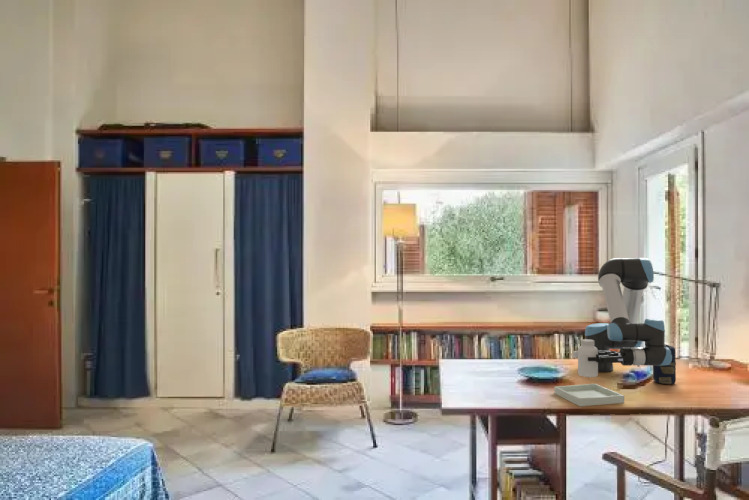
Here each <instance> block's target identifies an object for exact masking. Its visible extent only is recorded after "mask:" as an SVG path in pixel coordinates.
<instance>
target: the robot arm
mask: <svg viewBox="0 0 749 500" xmlns="http://www.w3.org/2000/svg"><path fill="white" fill-rule="evenodd" d="M654 279H655V277H654V268H653V264H652V261H651V259H649V258H646V257H638V258H637V257H635V258H632V257H631V258H630V257H628V258H627V257H625V258H624V257H623V258H622V257H617V258H616V257H615V258H611V259H608V260H607V261H606V262H604V264H603V265H602V266H601V267H600V269H599V271H598V274H597V281H598V284H599V286H600V287H601V288H602V292H603V296H604V299H605V304H606V309H607V312H608V317H609V320H610V321H609V322H610V323H607V322H604V323H603V322H598V323H591V324H588V325H586V326H585V328H584V329H585V330H584V336H585V338H584V339H591V340H594V347H596V348H597V349H598V354H596V356H595V355H579V362H598V373H605V372H607V373H608V372H612V371H614V363H615V364H618V363H619V364H621V365H622V366H623V367H624V366H628V367H629V366H636V367H640V366H652V367H653V366H661V365H669V364H670V363H671V361H672V355H671V351H670V349H669V348H667V347H665V342H666V341H665V337H666V336H665V335H666V334H665V333H666V331H665V330H666V329H665V322H664V320H663V319H659V318H645V319H644V322H642V323H641V322H640V323H638V322H639V317H640V311H641V305H642V298H643V294H644V293H643V292H644V290H645V289H647V288H648V285H649V284H651V283H653V282H654ZM621 285H622V286H623V291H622V288H621ZM643 342H644V347H641V346H642V344H643ZM616 350H619V351H616ZM572 357H573V359H578V350H575V351H572Z"/></svg>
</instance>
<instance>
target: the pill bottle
mask: <svg viewBox="0 0 749 500" xmlns="http://www.w3.org/2000/svg"><path fill="white" fill-rule="evenodd" d="M577 351H578V358H577V375H579V376H580V377H584V378H596V377H598V375H599V372H598V362H579V355H595V356H596V354H598V349H597V348H596V347H594V340H591V339H585V338H584V339H581V340H580V346H578V349H577Z"/></svg>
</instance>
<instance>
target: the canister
mask: <svg viewBox="0 0 749 500" xmlns="http://www.w3.org/2000/svg"><path fill="white" fill-rule="evenodd" d="M665 347H667V348H669V349H670V351H671V355H672V361H671V363H670V364H669V365H661V366H653V365H652V375H653V376H652V380H653V381H654V382H655V383H659V384H661V385H662V384H664V385H673V384H675V383H676V381H677V375H676V374H677V372H676V365H677V361H676V360H677V359H676V347H674V346H672V345H669V344H665Z"/></svg>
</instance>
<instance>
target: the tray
mask: <svg viewBox="0 0 749 500" xmlns="http://www.w3.org/2000/svg"><path fill="white" fill-rule="evenodd" d="M553 387H554V389H553V390H554V394H555V395H556V396H559V397H561V398H563V399H565V400H567V401H569V402H570V403H573V404H574V405H577V406H578V407H587V406H588V407H590V406H601V405H602V406H603V405H612V404H613V405H614V404H624V403H625V395H624V394H621V393H619V392H617V391H614V390H612V389H610V388H607V387H604V386H602V385H599V384H597V383H587V384H586V383H585V384H573V385H560V386H559V385H558V386H553Z"/></svg>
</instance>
